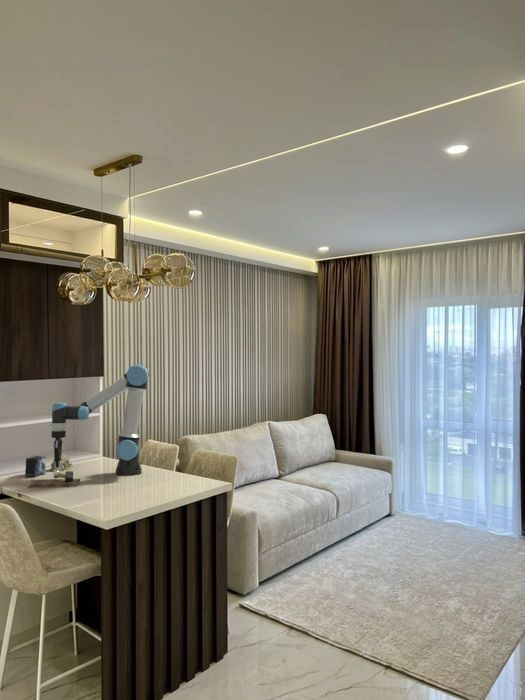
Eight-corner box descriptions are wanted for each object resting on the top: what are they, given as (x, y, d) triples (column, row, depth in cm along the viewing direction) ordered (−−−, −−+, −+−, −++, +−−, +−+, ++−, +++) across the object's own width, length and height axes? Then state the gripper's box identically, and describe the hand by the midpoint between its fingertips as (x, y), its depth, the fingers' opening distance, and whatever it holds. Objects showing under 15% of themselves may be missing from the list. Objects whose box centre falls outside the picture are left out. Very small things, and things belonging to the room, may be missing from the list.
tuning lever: (74, 480, 287) (74, 471, 287) (69, 481, 284) (69, 472, 284) (57, 478, 292) (57, 469, 292) (51, 479, 288) (51, 470, 289)
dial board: (80, 481, 293) (80, 478, 294) (77, 486, 281) (77, 483, 281) (33, 482, 289) (33, 479, 289) (28, 487, 276) (28, 484, 276)
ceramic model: (62, 472, 319) (63, 455, 319) (45, 471, 321) (46, 454, 322) (75, 468, 332) (76, 451, 333) (59, 467, 335) (60, 451, 335)
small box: (34, 477, 301) (35, 459, 302) (24, 477, 302) (25, 458, 303) (46, 474, 312) (46, 456, 312) (36, 473, 313) (36, 455, 313)
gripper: (53, 429, 305) (52, 470, 304) (49, 431, 292) (48, 475, 291) (67, 429, 306) (66, 470, 305) (63, 431, 293) (62, 474, 293)
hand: (57, 472), depth 298 cm, fingers closed
